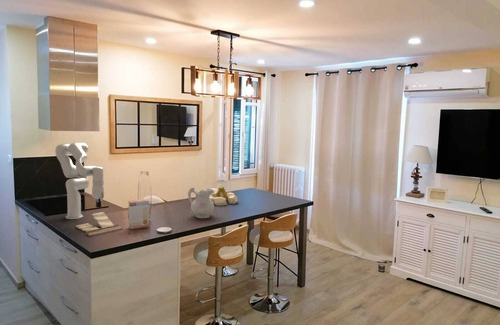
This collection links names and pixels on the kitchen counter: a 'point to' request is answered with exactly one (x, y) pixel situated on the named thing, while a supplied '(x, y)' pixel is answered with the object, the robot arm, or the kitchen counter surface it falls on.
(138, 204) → the cracker box
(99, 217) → the plank far
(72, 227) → the kitchen counter surface
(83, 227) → the plank near
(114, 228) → the laid floor strip
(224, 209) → the kitchen counter surface
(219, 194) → the campfire
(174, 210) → the kitchen counter surface
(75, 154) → the robot arm
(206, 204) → the ceramic pitcher
